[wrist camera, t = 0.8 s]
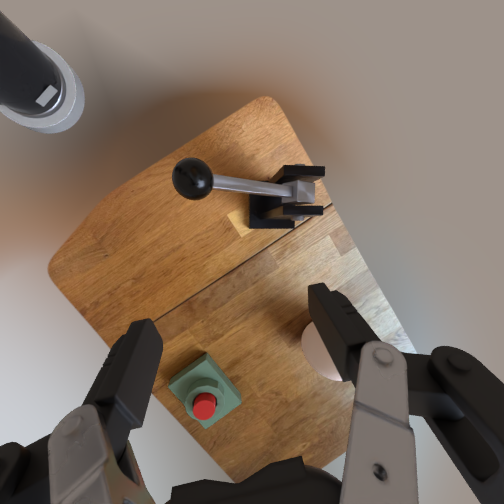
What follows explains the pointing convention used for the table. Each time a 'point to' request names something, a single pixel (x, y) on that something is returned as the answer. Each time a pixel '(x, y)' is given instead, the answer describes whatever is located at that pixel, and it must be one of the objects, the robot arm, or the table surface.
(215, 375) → the button box
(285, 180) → the bracket
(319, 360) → the egg
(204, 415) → the button
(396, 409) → the robot arm
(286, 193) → the lever
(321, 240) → the table surface
